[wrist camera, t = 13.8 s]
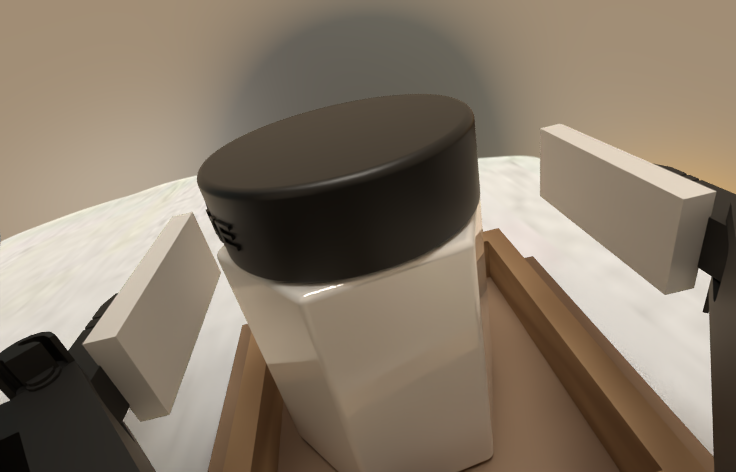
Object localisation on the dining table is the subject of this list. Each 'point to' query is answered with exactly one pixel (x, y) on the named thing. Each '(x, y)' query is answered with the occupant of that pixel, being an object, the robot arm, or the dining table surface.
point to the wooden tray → (499, 393)
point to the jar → (365, 277)
